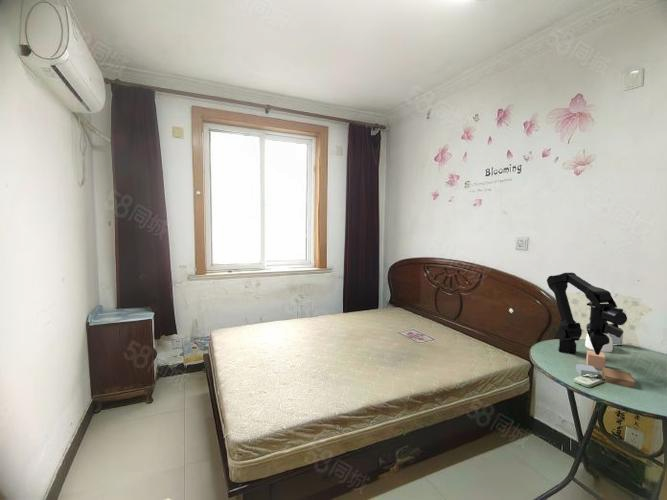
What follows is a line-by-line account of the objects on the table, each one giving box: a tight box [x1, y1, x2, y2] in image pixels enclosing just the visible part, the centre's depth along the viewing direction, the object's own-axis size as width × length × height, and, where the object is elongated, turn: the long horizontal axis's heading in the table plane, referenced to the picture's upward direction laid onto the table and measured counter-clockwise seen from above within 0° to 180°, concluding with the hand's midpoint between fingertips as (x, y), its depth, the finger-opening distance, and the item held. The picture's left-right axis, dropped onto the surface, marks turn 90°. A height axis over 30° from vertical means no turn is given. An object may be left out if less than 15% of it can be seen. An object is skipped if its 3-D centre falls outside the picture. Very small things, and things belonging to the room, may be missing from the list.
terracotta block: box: [585, 349, 607, 371], centre depth 142 cm, size 6×6×6 cm
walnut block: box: [601, 367, 636, 389], centre depth 130 cm, size 9×9×3 cm
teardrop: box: [584, 333, 614, 353], centre depth 161 cm, size 11×11×12 cm
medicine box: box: [608, 333, 624, 346], centre depth 166 cm, size 8×4×9 cm, turn 71°
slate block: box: [575, 363, 599, 377], centre depth 135 cm, size 6×6×3 cm
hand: (595, 350), depth 142 cm, fingers open, 9 cm apart
